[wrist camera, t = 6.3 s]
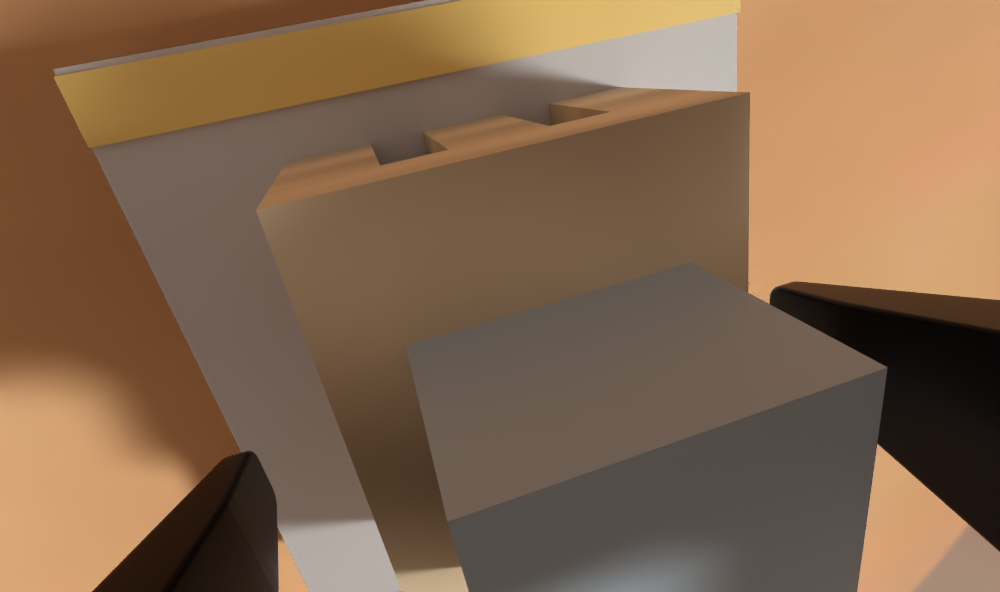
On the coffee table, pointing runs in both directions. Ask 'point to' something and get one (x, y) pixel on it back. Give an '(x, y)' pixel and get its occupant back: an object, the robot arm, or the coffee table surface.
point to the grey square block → (652, 443)
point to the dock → (324, 129)
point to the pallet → (490, 259)
